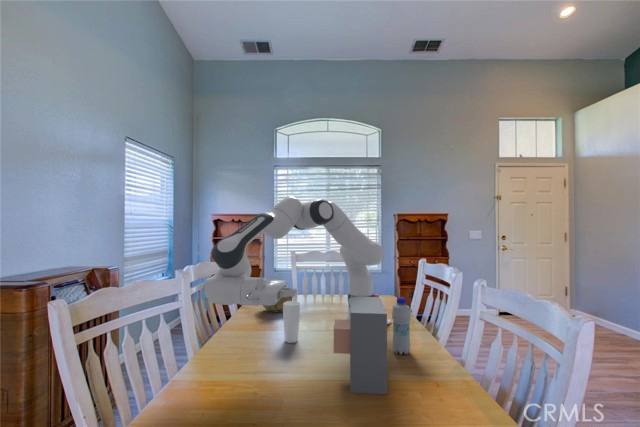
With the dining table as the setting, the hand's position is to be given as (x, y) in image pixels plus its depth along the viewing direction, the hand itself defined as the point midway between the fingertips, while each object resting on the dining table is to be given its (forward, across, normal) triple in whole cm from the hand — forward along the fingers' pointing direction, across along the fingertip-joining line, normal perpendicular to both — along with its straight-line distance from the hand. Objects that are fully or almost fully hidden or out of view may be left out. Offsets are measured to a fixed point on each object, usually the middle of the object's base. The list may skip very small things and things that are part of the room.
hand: (296, 292), depth 100 cm
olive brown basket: (-22, +68, +25) cm, 75 cm away
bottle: (+36, +19, +25) cm, 48 cm away
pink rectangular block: (+15, 0, +17) cm, 22 cm away
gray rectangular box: (+22, 0, +25) cm, 33 cm away
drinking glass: (-6, +26, +25) cm, 37 cm away
